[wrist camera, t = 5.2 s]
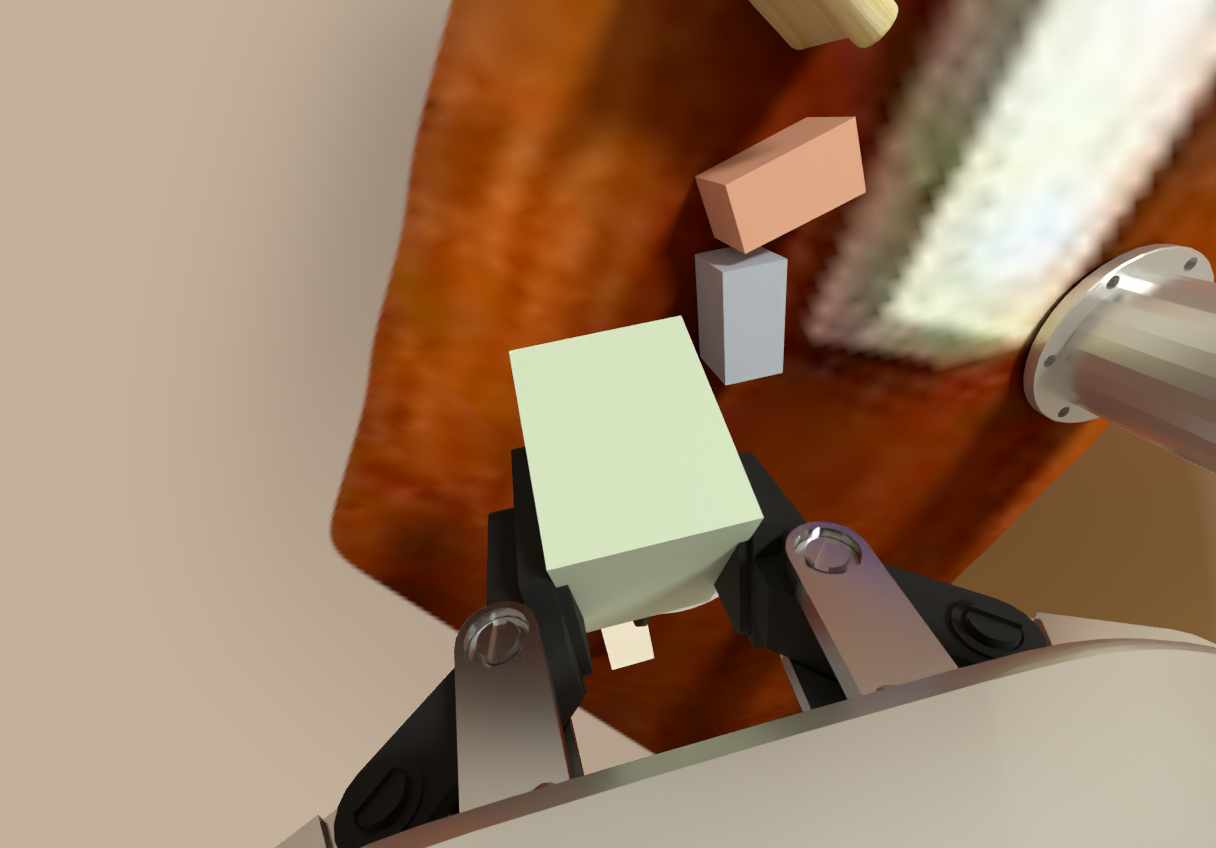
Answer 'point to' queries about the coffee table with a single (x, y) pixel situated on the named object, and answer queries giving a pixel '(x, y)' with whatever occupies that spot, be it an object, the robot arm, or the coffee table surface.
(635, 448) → the sage brick
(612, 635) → the cream brick
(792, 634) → the robot arm
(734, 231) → the terracotta brick
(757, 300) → the slate brick
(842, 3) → the toy sofa
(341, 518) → the coffee table surface
